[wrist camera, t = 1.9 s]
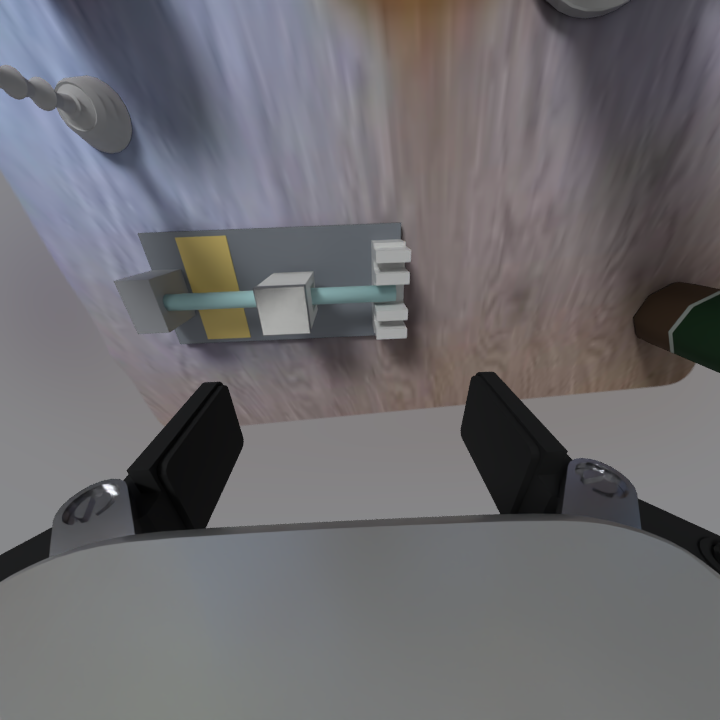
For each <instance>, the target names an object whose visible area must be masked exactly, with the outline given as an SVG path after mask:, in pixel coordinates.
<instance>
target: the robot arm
mask: <svg viewBox="0 0 720 720" xmlns="http://www.w3.org/2000/svg"><path fill="white" fill-rule="evenodd" d="M546 1H548V2H549V3H550V4H551V5H552V6H553V7H554V8H555V9H556V10H558V11H560V12H562V13H564V14H566V15H568V16H570V17H577V18H592V17H598V16H602V15H605V14H607V13H609V12H612V11H614V10H617V9H619V8H620V7H622V6H623V5H625V4H626V3H628V2H629V1H631V0H546ZM461 436H462V439H463V441H464V443H465V445H466V447H467V449H468V451H469V453H470V455H471V457H472V459H473V461H474V463H475V465H476V467H477V469H478V471H479V473H480V474H481V476H482V479H483V481H484V482H485V484H486V486H487V488H488V490H489V492H490V494H491V496H492V498H493V500H494V502H495V504H496V506H497V508H498V510H499V512H500V514H495V515H469V516H468V515H466V516H443V517H421V518H398V519H376V520H355V521H334V522H314V523H296V524H295V523H294V524H276V525H257V526H239V527H221V528H206V526H207V524H208V522H209V519H210V517H211V515H212V513H213V511H214V509H215V506H216V504H217V502H218V500H219V498H220V495H221V493H222V491H223V489H224V487H225V485H226V482H227V480H228V478H229V476H230V474H231V472H232V469H233V467H234V465H235V463H236V461H237V459H238V456H239V454H240V452H241V450H242V447H243V442H244V441H243V436H242V432H241V429H240V426H239V422H238V419H237V416H236V412H235V409H234V406H233V403H232V399H231V396H230V393H229V389H228V387H227V386H226V385H223V384H222V383H221V382H205V383H203V384H202V385H201V386H200V387H199V388H198V389H197V390H196V392H195V393H194V394H193V395H192V396H191V397H190V398H189V400H188V401H187V402H186V403H185V404H184V405H183V406H182V408H181V409H180V410H179V411H178V412H177V413H176V414H175V416H174V417H173V418H172V419H171V420H170V421H169V423H168V424H167V425H166V426H165V427H164V428H163V429H162V431H161V432H160V433H159V434H158V435H157V436H156V437H155V439H154V440H153V441H152V442H151V443H150V444H149V446H148V447H147V448H146V449H145V450H144V451H143V452H142V454H141V455H140V456H139V457H138V458H137V459H136V461H135V462H134V463H133V464H132V465H131V466H130V467H129V468H128V470H127V472H128V476H127V477H126V478H125V479H124V480H123V481H122V480H120V479H109V480H104V481H101V482H98V483H95V484H93V485H90V486H89V487H87V488H85V489H83V490H81V491H80V492H78V493H77V494H75V495H74V496H73V497H71V498H70V499H69V500H68V501H67V502H66V503H64V504H63V505H62V506H61V508H60V509H59V510H58V512H57V513H56V515H55V518H54V520H53V525H52V528H50V529H48V530H46V531H45V532H43V533H41V534H39V535H37V536H35V537H33V538H31V539H30V540H28V541H26V542H24V543H22V544H20V545H18V546H16V547H15V548H13V549H11V550H9V551H7V552H5V553H3V554H1V555H0V720H720V536H719V535H717V534H714V533H712V532H710V531H708V530H705V529H703V528H701V527H699V526H697V525H695V524H693V523H690V522H688V521H686V520H683V519H682V518H679V517H677V516H675V515H673V514H671V513H668V512H666V511H664V510H662V509H660V508H657V507H655V506H653V505H651V504H649V503H646V502H644V501H642V500H640V499H638V497H637V492H636V490H635V487H634V486H633V485H632V483H631V482H630V481H629V480H628V479H627V478H626V477H625V476H624V475H622V474H621V473H620V472H618V471H617V470H615V469H614V468H612V467H611V466H608V465H606V464H604V463H602V462H599V461H596V460H592V459H585V458H579V459H574V460H572V459H571V458H570V457H569V456H568V455H567V452H568V451H567V450H566V449H565V448H564V447H563V446H562V445H561V444H560V443H559V441H558V440H557V439H556V438H555V437H554V436H553V435H552V434H551V433H550V432H549V431H548V429H547V428H546V427H545V426H544V425H543V424H542V423H541V422H540V421H539V420H538V419H537V418H536V417H535V415H534V414H533V413H532V412H531V411H530V410H529V409H528V408H527V407H526V406H525V405H524V404H523V403H522V401H521V400H520V399H519V398H518V397H517V396H516V395H515V394H514V393H513V392H512V391H511V390H510V388H509V387H508V386H507V385H506V384H505V383H504V382H503V381H502V380H501V379H500V378H499V377H498V376H497V374H496V373H494V372H478V373H477V374H476V375H475V376H473V377H472V378H471V381H470V386H469V391H468V396H467V401H466V406H465V411H464V416H463V421H462V425H461Z"/></svg>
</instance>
